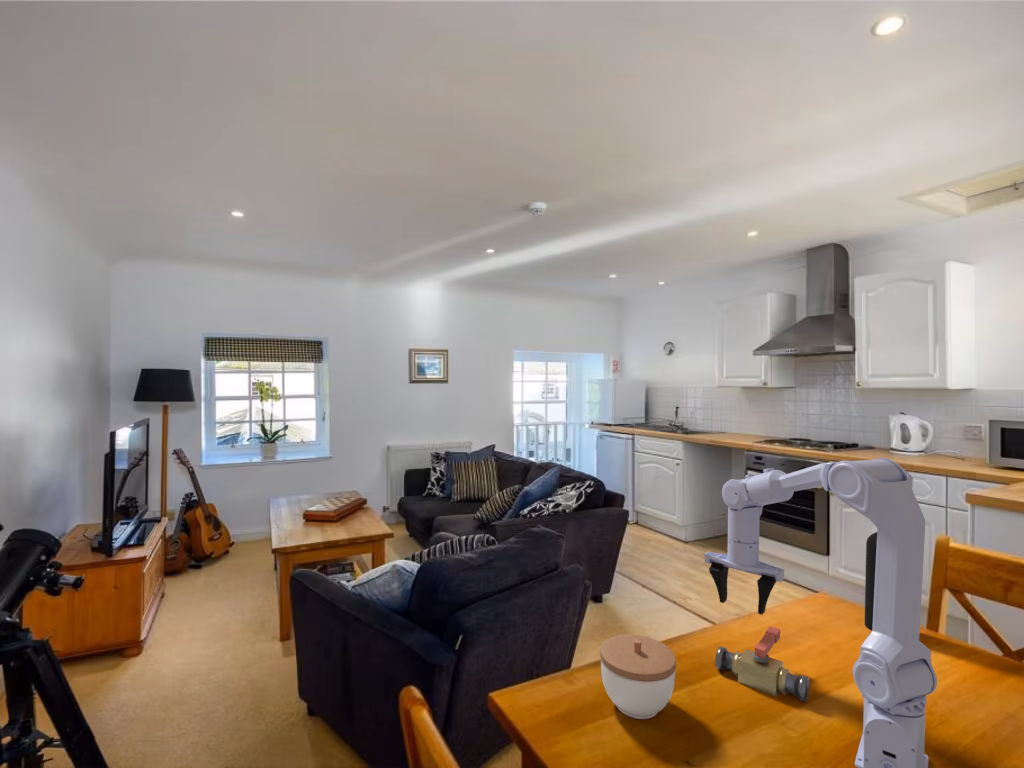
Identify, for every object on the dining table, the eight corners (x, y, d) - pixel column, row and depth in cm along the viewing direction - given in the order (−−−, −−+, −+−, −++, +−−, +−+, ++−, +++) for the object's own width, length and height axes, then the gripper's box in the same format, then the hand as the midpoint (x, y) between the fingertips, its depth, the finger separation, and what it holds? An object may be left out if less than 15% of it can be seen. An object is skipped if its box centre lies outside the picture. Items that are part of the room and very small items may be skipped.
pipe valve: (809, 695, 90) (810, 671, 90) (803, 708, 86) (804, 683, 86) (723, 662, 100) (723, 641, 99) (714, 673, 96) (714, 650, 96)
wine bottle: (857, 624, 115) (859, 494, 115) (876, 618, 119) (879, 491, 118) (893, 640, 109) (896, 501, 108) (913, 633, 112) (916, 498, 111)
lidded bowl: (644, 676, 95) (644, 618, 94) (691, 719, 83) (693, 652, 83) (585, 692, 90) (586, 630, 90) (628, 739, 78) (628, 669, 78)
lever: (766, 664, 91) (766, 652, 91) (751, 659, 93) (751, 646, 93) (781, 641, 99) (782, 629, 99) (767, 636, 101) (767, 625, 101)
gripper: (788, 542, 99) (787, 611, 99) (713, 527, 108) (712, 590, 109) (779, 551, 94) (777, 624, 94) (701, 534, 103) (700, 600, 103)
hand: (742, 606), depth 101 cm, fingers open, 7 cm apart
